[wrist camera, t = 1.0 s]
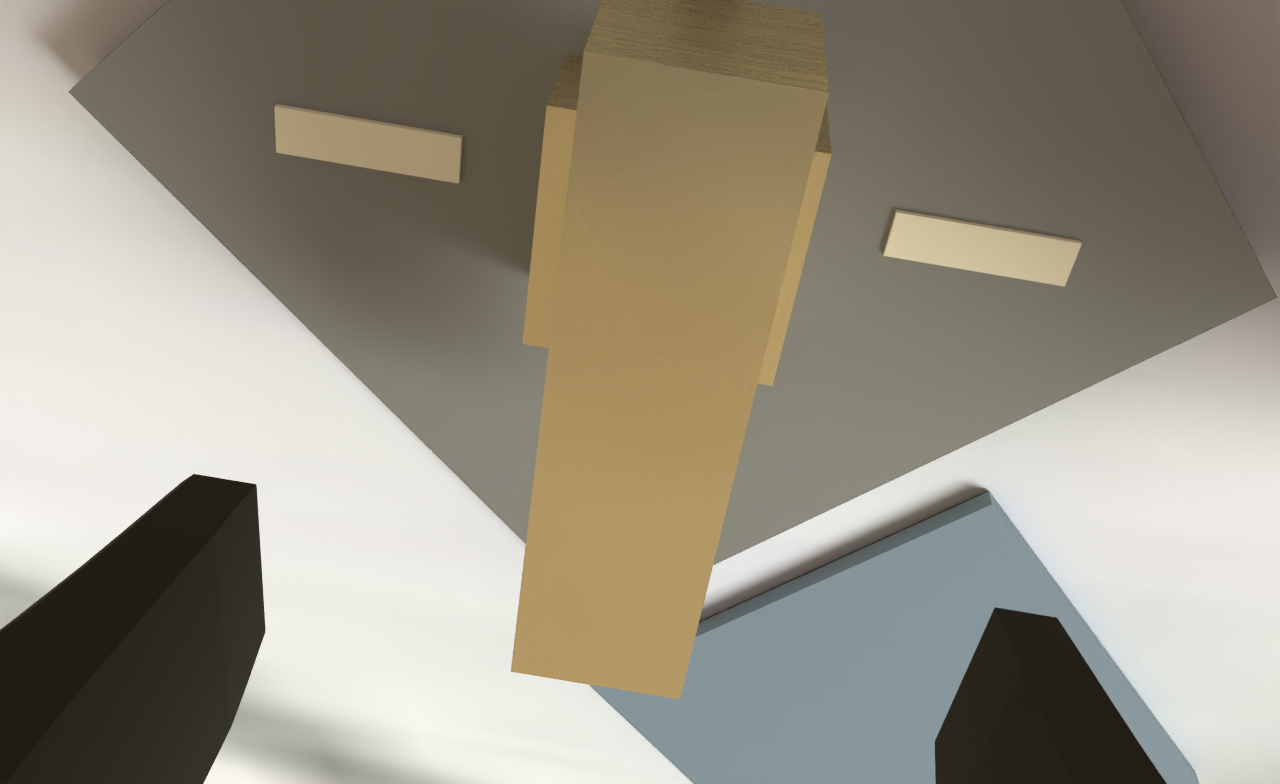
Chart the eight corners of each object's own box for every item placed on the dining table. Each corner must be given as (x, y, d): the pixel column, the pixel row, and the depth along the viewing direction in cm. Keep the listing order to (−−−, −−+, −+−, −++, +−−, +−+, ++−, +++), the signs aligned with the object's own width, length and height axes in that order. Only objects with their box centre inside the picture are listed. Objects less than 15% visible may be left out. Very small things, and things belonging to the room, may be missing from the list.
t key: (585, -118, 17) (501, 36, 12) (867, -69, 17) (910, 106, 12) (529, 396, 22) (454, 662, 17) (744, 432, 22) (736, 708, 17)
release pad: (989, 490, 24) (991, 504, 23) (1194, 771, 28) (1200, 786, 27) (591, 671, 28) (588, 685, 27) (823, 892, 32) (824, 906, 32)
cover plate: (811, -579, 14) (814, -587, 14) (1257, 267, 20) (1279, 301, 19) (96, 69, 20) (65, 93, 19) (606, 584, 26) (600, 621, 25)
